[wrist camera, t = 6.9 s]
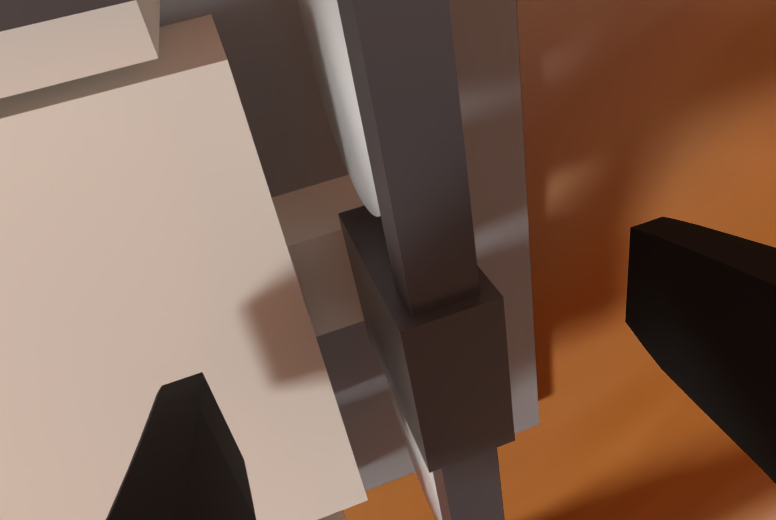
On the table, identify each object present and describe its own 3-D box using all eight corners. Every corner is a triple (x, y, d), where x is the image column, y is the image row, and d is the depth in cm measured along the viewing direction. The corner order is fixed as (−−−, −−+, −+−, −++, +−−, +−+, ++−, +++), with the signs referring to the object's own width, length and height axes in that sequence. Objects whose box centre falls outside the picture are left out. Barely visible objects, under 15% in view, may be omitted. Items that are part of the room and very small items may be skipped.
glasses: (335, -159, 9) (463, -190, 5) (442, 436, 17) (528, 607, 13) (-425, -5, 8) (-1057, 116, 4) (69, 574, 16) (35, 819, 12)
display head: (474, -350, 10) (727, -540, 6) (526, 406, 20) (631, 557, 16) (-632, -166, 8) (-1735, -233, 3) (52, 585, 18) (15, 823, 13)
